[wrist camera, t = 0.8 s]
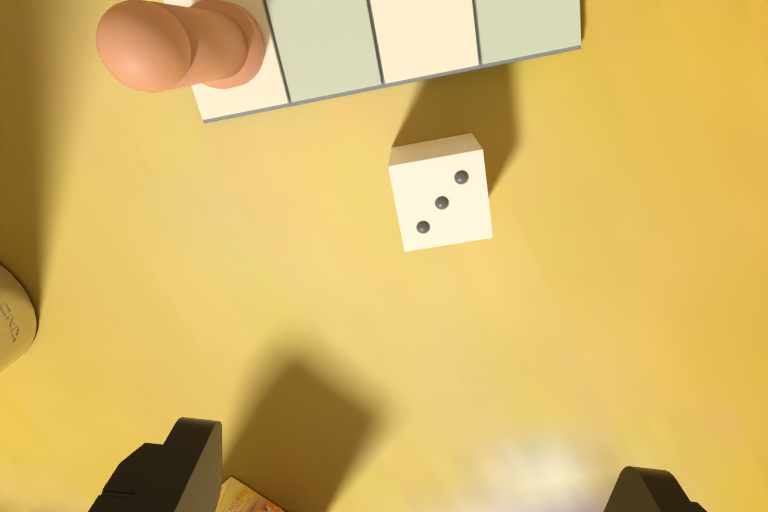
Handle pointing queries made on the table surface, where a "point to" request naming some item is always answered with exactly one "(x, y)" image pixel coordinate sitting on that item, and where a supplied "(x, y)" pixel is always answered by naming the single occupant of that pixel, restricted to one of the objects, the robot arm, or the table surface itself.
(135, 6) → the pawn
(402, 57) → the track
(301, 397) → the table surface
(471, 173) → the die
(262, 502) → the candy box
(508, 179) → the table surface
